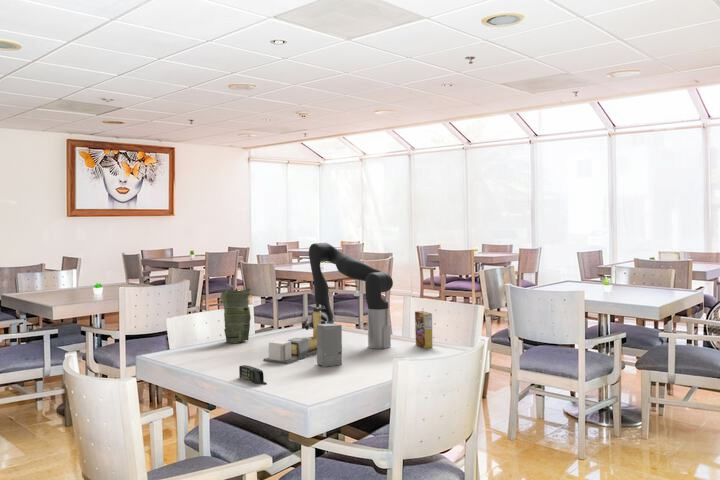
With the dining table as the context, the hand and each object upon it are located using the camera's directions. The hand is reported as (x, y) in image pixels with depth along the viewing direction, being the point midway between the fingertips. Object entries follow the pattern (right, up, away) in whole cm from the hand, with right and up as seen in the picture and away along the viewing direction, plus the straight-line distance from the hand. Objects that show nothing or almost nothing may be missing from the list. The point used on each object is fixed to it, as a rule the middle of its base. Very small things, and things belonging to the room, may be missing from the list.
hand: (316, 327), depth 264 cm
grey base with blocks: (-7, -10, -10) cm, 16 cm away
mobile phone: (-19, -12, -52) cm, 56 cm away
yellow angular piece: (-4, -9, -6) cm, 11 cm away
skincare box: (+7, -10, -28) cm, 31 cm away
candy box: (+47, -9, +5) cm, 49 cm away
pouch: (-39, -10, +20) cm, 45 cm away
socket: (-13, -9, -21) cm, 27 cm away
